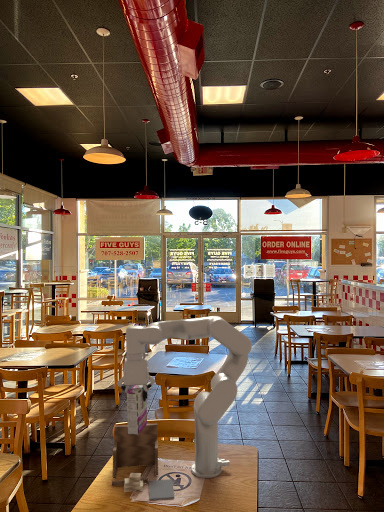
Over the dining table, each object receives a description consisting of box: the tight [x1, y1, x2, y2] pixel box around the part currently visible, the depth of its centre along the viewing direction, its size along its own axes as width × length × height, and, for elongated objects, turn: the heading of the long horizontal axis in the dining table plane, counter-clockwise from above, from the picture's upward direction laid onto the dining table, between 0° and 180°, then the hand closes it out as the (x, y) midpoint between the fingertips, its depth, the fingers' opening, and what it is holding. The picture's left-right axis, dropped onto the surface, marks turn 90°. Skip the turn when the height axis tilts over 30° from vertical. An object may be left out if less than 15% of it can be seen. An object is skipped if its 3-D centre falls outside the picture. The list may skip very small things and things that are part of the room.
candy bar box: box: [125, 385, 148, 435], centre depth 159 cm, size 11×5×16 cm, turn 169°
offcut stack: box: [123, 472, 144, 493], centre depth 149 cm, size 7×4×5 cm, turn 96°
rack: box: [111, 423, 159, 487], centre depth 160 cm, size 18×15×17 cm
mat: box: [148, 478, 175, 501], centre depth 148 cm, size 9×12×1 cm
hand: (136, 400), depth 159 cm, fingers closed on candy bar box, 6 cm apart
